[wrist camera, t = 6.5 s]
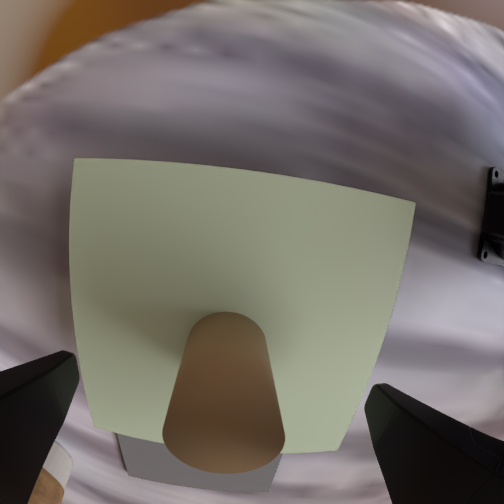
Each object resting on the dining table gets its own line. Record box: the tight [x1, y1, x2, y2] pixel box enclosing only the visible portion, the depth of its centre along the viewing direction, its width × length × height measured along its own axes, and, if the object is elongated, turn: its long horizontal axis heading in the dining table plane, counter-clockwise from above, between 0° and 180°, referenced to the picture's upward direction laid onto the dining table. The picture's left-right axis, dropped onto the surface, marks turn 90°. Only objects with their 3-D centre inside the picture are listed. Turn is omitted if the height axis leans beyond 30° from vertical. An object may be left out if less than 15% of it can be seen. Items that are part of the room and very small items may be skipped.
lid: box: [69, 158, 416, 474], centre depth 8 cm, size 12×12×6 cm
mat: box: [117, 433, 283, 492], centre depth 17 cm, size 12×12×1 cm
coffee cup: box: [28, 441, 73, 504], centre depth 10 cm, size 8×8×15 cm
